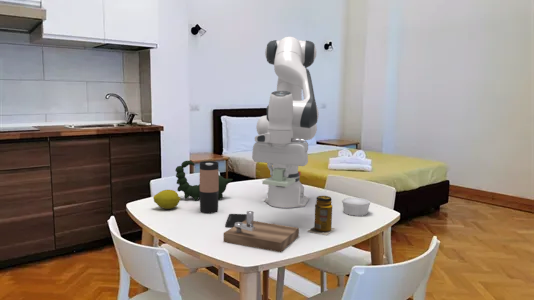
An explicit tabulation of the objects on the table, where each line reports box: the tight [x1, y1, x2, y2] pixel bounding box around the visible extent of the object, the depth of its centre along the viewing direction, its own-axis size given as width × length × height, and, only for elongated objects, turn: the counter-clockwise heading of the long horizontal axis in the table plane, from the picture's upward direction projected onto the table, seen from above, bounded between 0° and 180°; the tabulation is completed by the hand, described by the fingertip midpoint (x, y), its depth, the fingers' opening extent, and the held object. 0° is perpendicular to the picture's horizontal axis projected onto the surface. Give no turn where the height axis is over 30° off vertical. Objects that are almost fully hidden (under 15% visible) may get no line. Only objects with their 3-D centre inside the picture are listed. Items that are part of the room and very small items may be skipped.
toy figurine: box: [174, 160, 234, 201], centre depth 188 cm, size 9×19×25 cm
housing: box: [223, 220, 300, 253], centre depth 138 cm, size 16×20×4 cm
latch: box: [235, 210, 255, 231], centre depth 134 cm, size 7×3×6 cm, turn 54°
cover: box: [261, 168, 295, 187], centre depth 148 cm, size 9×9×5 cm
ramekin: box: [341, 197, 371, 217], centre depth 171 cm, size 11×11×5 cm
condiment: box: [307, 195, 336, 236], centre depth 147 cm, size 7×8×12 cm
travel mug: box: [199, 160, 220, 215], centre depth 168 cm, size 8×8×20 cm
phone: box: [224, 213, 247, 229], centre depth 157 cm, size 8×1×15 cm
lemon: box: [153, 189, 182, 210], centre depth 171 cm, size 11×8×8 cm
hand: (279, 176), depth 148 cm, fingers closed on cover, 3 cm apart
